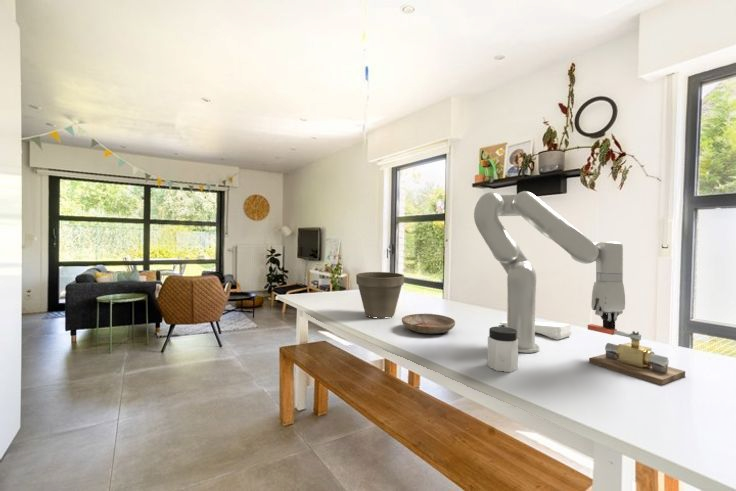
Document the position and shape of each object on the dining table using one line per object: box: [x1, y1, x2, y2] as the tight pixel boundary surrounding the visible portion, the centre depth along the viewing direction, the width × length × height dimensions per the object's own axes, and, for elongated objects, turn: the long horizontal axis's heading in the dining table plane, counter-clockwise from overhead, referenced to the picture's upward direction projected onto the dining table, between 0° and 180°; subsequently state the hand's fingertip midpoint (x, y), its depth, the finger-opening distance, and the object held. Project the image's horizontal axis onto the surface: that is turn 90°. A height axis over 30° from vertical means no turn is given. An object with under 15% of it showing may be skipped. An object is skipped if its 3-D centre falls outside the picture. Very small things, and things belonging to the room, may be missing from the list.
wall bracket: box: [499, 320, 572, 340], centre depth 157 cm, size 10×7×28 cm
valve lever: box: [587, 323, 642, 341], centre depth 117 cm, size 15×3×2 cm, turn 29°
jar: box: [486, 326, 519, 373], centre depth 112 cm, size 9×8×12 cm
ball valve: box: [604, 339, 669, 374], centre depth 112 cm, size 5×16×8 cm, turn 28°
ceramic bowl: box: [401, 313, 456, 335], centre depth 157 cm, size 23×24×5 cm
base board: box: [588, 353, 686, 386], centre depth 112 cm, size 14×20×2 cm
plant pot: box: [355, 271, 405, 318], centre depth 185 cm, size 25×25×22 cm
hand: (608, 331), depth 121 cm, fingers closed
